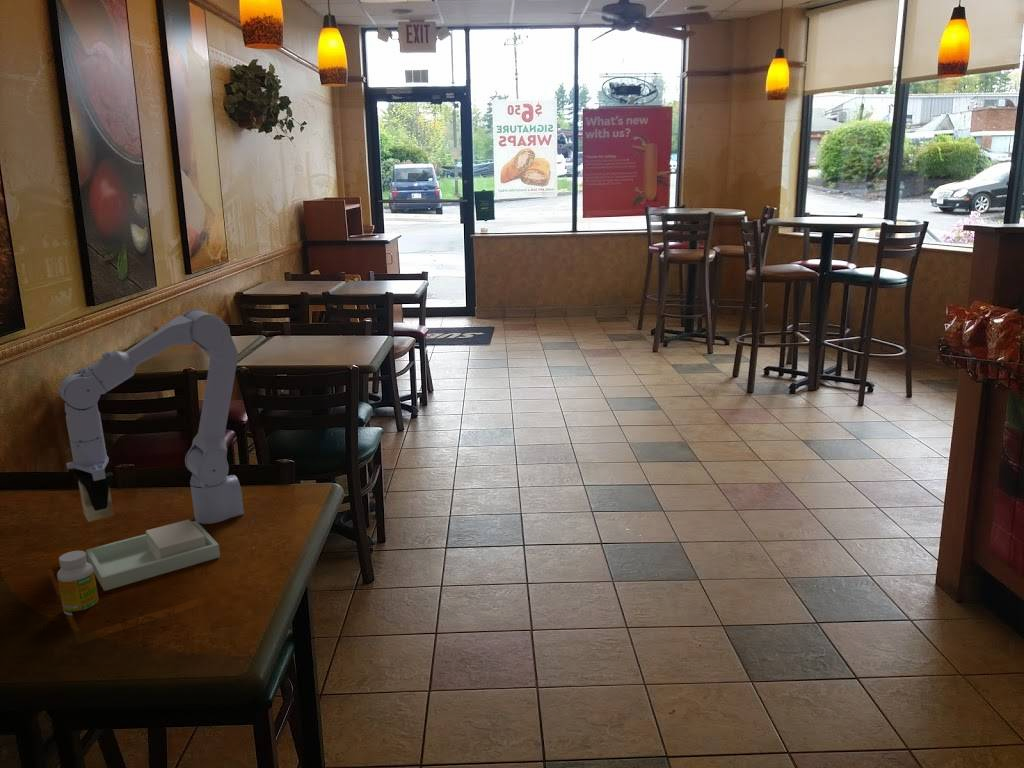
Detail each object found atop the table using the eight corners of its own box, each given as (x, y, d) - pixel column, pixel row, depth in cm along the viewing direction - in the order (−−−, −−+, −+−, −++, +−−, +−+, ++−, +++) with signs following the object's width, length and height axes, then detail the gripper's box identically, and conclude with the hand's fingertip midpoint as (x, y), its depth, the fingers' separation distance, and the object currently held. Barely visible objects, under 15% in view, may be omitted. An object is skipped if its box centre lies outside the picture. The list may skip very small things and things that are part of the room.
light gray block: (191, 538, 161) (188, 519, 160) (207, 555, 153) (204, 536, 152) (148, 549, 156) (145, 530, 155) (162, 568, 149) (159, 548, 148)
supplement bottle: (84, 618, 134) (75, 564, 132) (56, 615, 136) (46, 562, 133) (106, 601, 140) (97, 549, 137) (79, 599, 141) (69, 547, 138)
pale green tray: (198, 536, 164) (196, 520, 163) (220, 561, 153) (218, 544, 152) (88, 566, 152) (86, 549, 151) (104, 595, 141) (101, 577, 141)
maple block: (109, 508, 160) (103, 475, 159) (114, 515, 157) (108, 481, 155) (83, 514, 158) (78, 480, 156) (88, 521, 154) (82, 487, 153)
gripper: (56, 433, 157) (68, 499, 160) (70, 452, 146) (82, 522, 149) (96, 425, 161) (107, 490, 164) (112, 443, 150) (123, 512, 153)
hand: (97, 504), depth 157 cm, fingers closed on maple block, 4 cm apart
